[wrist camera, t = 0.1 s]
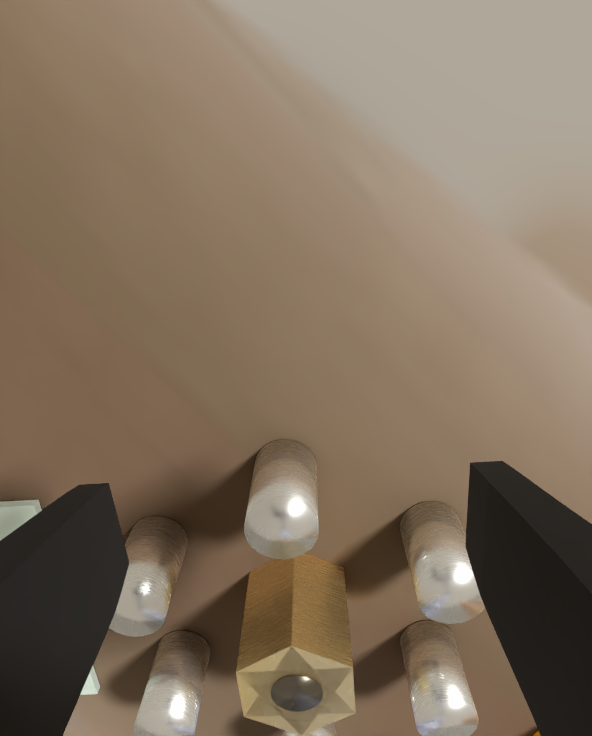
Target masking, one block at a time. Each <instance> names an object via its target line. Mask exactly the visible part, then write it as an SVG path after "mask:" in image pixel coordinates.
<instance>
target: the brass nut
mask: <svg viewBox="0 0 592 736" xmlns="http://www.w3.org/2000/svg"><path fill="white" fill-rule="evenodd" d="M236 676H237V681H238V687H239V692H240V698H241V703H242V709H243V714H244V717H246V718H249V719H252V720H255V721H258V722H261V723H264V724H267V725H270V726H273V727H276V728H280V729H283V730H286V731H289V732H292V733H295V734H298V735H301V736H303V735H305V734H307V733H310V732H312V731H314V730H317V729H319V728H321V727H324V726H326V725H329V724H331V723H333V722H336V721H338V720H340V719H343V718H345V717H347V716H350V715H352V714H354V713H355V695H354V677H353V662H352V651H351V640H350V629H349V618H348V607H347V596H346V585H345V573H344V568H343V567H341V566H338V565H335V564H333V563H330V562H328V561H325V560H323V559H320V558H317V557H315V556H312V555H310V554H307V553H304V554H303V555H300V556H298V557H295V558H291V559H274V560H272V561H270V562H268V563H266V564H264V565H262V566H261V567H259V568H257V569H255V570H253V571H251V572H250V573H249V580H248V588H247V595H246V602H245V610H244V617H243V624H242V631H241V639H240V646H239V653H238V660H237V668H236Z"/></svg>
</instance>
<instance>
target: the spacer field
mask: <svg viewBox="0 0 592 736" xmlns="http://www.w3.org/2000/svg"><path fill="white" fill-rule="evenodd" d="M400 532H401V536H402V540H403V544H404V548H405V552H406V556H407V560H408V564H409V568H410V572H411V576H412V580H413V584H414V588H415V592H416V596H417V600H418V604H419V607H420V609H421V611H422V612H423V613H424V615H426V616H427V617H428V618H430V619H432V620H424V621H419V622H416V623H413V624H412V625H410V626H408V627H407V628H406V629H405V630H404V631H403V633H402V635H401V638H400V644H401V649H402V654H403V659H404V665H405V670H406V675H407V680H408V685H409V691H410V696H411V701H412V706H413V711H414V717H415V722H416V727H417V730H418V731H419V733H420V734H421V735H422V736H469V735H470V734H472V733H473V732H474V731H475V729H476V728H477V726H478V722H479V719H478V715H477V712H476V708H475V705H474V702H473V699H472V695H471V692H470V689H469V685H468V682H467V679H466V676H465V672H464V669H463V666H462V663H461V659H460V656H459V653H458V649H457V646H456V643H455V640H454V636H453V633H452V631H451V630H450V628H449V627H448V626H446V625H445V624H443V623H446V624H454V623H461V622H464V621H467V620H470V619H472V618H474V617H475V616H477V615H478V614H479V613H481V612H482V610H483V609H484V608H485V606H484V603H483V601H482V598H481V596H480V593H479V590H478V587H477V584H476V580H475V577H474V574H473V571H472V567H471V564H470V560H469V557H468V553H467V550H466V534H465V532H464V530H463V527H462V525H461V522H460V520H459V518H458V515H457V513H456V512H455V511H454V509H452V508H451V507H450V506H448V505H446V504H444V503H441V502H436V501H428V502H422V503H419V504H417V505H415V506H413V507H411V508H410V509H409V510H408V511H407V512H406V513H405V514H404V515H403V517H402V519H401V522H400ZM244 533H245V537H246V539H247V541H248V543H249V544H250V545H251V547H252V548H253V549H254V550H256V551H257V552H258V553H260V554H262V555H264V556H266V557H269V558H274V559H291V558H295V557H298V556H300V555H303V554H304V553H306V552H307V551H308V550H310V549H311V548H312V547H313V545H314V544H315V542H316V540H317V537H318V533H319V527H318V495H317V464H316V459H315V457H314V454H313V453H312V451H311V450H310V449H309V448H308V447H307V446H305V445H304V444H302V443H300V442H298V441H295V440H290V439H281V440H276V441H273V442H270V443H268V444H267V445H265V446H264V447H263V448H262V449H261V450H260V451H259V453H258V454H257V457H256V460H255V465H254V471H253V477H252V483H251V489H250V495H249V501H248V506H247V512H246V518H245V524H244ZM187 545H188V537H187V534H186V532H185V530H184V529H183V528H182V527H181V526H180V525H179V524H178V523H177V522H175V521H174V520H172V519H169V518H166V517H162V516H150V517H146V518H143V519H141V520H139V521H138V522H137V523H136V524H135V525H134V526H133V528H132V530H131V532H130V534H129V537H128V539H127V541H126V543H125V548H126V551H127V555H128V559H129V566H128V570H127V573H126V577H125V581H124V585H123V588H122V592H121V595H120V598H119V602H118V605H117V608H116V612H115V614H114V616H113V619H112V621H111V624H110V626H109V628H110V629H111V630H113V631H115V632H117V633H119V634H122V635H126V636H132V637H140V636H146V635H149V634H152V633H154V632H156V631H157V630H158V629H159V628H160V627H161V626H162V625H163V623H164V621H165V617H166V614H167V611H168V608H169V604H170V601H171V598H172V595H173V591H174V588H175V585H176V582H177V578H178V575H179V572H180V569H181V565H182V562H183V559H184V556H185V552H186V549H187ZM433 620H434V621H433ZM209 656H210V647H209V644H208V643H207V641H206V640H205V639H204V638H203V637H201V636H200V635H198V634H196V633H193V632H190V631H174V632H171V633H168V634H167V635H165V636H164V637H163V638H162V639H161V641H160V643H159V646H158V649H157V653H156V656H155V659H154V662H153V666H152V669H151V672H150V676H149V679H148V682H147V686H146V689H145V692H144V695H143V699H142V702H141V705H140V709H139V712H138V715H137V719H136V722H135V725H134V732H135V735H136V736H194V733H195V728H196V723H197V717H198V712H199V707H200V702H201V697H202V692H203V687H204V682H205V676H206V671H207V666H208V661H209ZM283 736H301V735H298V734H295V733H292V732H289V731H286V730H283ZM303 736H336V724H335V722H333V723H331V724H329V725H326V726H324V727H321V728H319V729H317V730H314V731H312V732H310V733H307V734H305V735H303Z"/></svg>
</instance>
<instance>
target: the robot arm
mask: <svg viewBox="0 0 592 736" xmlns="http://www.w3.org/2000/svg"><path fill="white" fill-rule="evenodd" d="M466 550H467V553H468V557H469V560H470V564H471V567H472V571H473V574H474V577H475V580H476V584H477V587H478V590H479V593H480V596H481V598H482V601H483V603H484V606H485V608H486V610H487V613H488V615H489V617H490V619H491V622H492V624H493V626H494V629H495V631H496V633H497V636H498V638H499V640H500V642H501V645H502V647H503V649H504V652H505V654H506V656H507V658H508V661H509V663H510V665H511V667H512V670H513V672H514V674H515V676H516V679H517V681H518V683H519V686H520V688H521V690H522V692H523V695H524V697H525V699H526V701H527V704H528V706H529V708H530V710H531V713H532V715H533V718H534V720H535V723H536V725H537V728H538V730H539V733H540V735H541V736H592V524H591V523H589V522H588V521H586V520H585V519H583V518H582V517H580V516H579V515H578V514H576V513H575V512H573V511H572V510H570V509H569V508H568V507H566V506H565V505H563V504H562V503H561V502H559V501H558V500H556V499H555V498H554V497H552V496H551V495H549V494H548V493H547V492H545V491H544V490H542V489H541V488H540V487H538V486H537V485H536V484H534V483H533V482H531V481H530V480H529V479H527V478H526V477H525V476H523V475H522V474H520V473H519V472H518V471H516V470H515V469H513V468H512V467H510V466H509V465H507V464H506V463H504V462H503V461H494V462H476V463H470V477H469V494H468V511H467V528H466ZM128 566H129V559H128V555H127V551H126V548H125V544H124V540H123V536H122V532H121V528H120V525H119V521H118V517H117V513H116V509H115V505H114V502H113V498H112V494H111V490H110V486H109V483H103V484H86V485H78V486H77V487H75V488H73V489H72V490H70V491H69V492H67V493H66V494H64V495H63V496H61V497H60V498H58V499H57V500H56V501H54V502H53V503H51V504H50V505H49V506H47V507H46V508H44V509H43V510H42V511H40V512H39V513H38V514H36V515H35V516H34V517H32V518H31V519H29V520H28V521H27V522H25V523H24V524H23V525H21V526H20V527H18V528H17V529H16V530H14V531H13V532H12V533H10V534H9V535H7V536H6V537H5V538H3V539H2V540H1V541H0V736H63V733H64V731H65V728H66V726H67V724H68V721H69V719H70V717H71V715H72V712H73V710H74V708H75V705H76V703H77V701H78V698H79V696H80V694H81V691H82V689H83V687H84V684H85V682H86V680H87V678H88V675H89V673H90V671H91V668H92V666H93V664H94V661H95V659H96V657H97V654H98V652H99V650H100V647H101V645H102V643H103V640H104V638H105V636H106V633H107V631H108V629H109V626H110V624H111V621H112V619H113V616H114V614H115V612H116V608H117V605H118V602H119V598H120V595H121V592H122V588H123V585H124V581H125V577H126V573H127V570H128Z"/></svg>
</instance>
